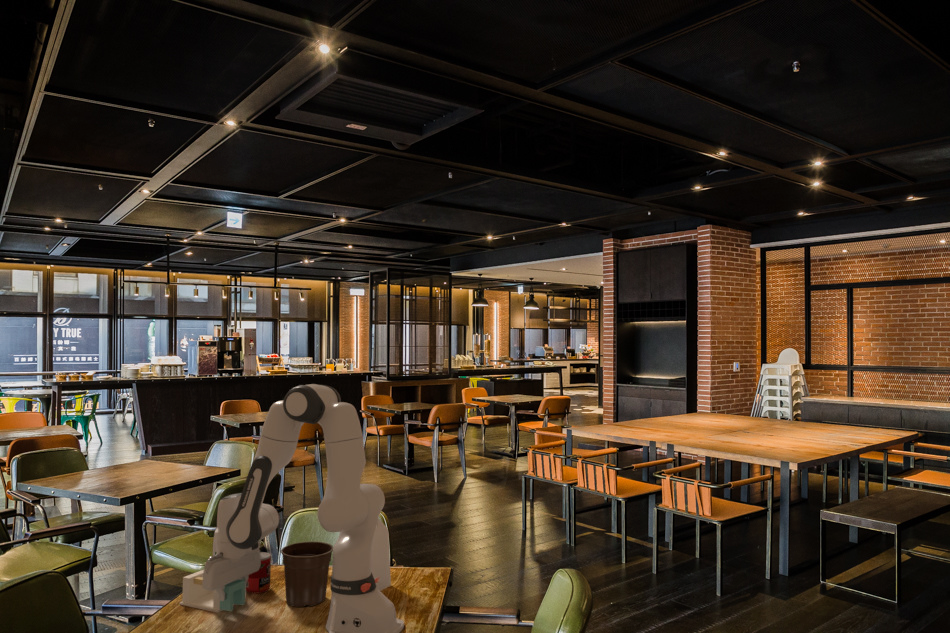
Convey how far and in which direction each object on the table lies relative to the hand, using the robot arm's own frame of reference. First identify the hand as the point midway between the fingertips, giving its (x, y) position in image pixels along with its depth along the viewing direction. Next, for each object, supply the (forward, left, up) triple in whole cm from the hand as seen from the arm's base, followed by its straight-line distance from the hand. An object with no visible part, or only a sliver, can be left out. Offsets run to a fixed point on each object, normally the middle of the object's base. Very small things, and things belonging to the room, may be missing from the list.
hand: (232, 595), depth 191 cm
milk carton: (+23, -20, -6) cm, 31 cm away
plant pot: (-13, -18, -6) cm, 23 cm away
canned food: (+8, -19, -6) cm, 21 cm away
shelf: (+13, -5, -5) cm, 15 cm away
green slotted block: (0, 0, -3) cm, 3 cm away
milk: (-24, -35, -6) cm, 43 cm away
